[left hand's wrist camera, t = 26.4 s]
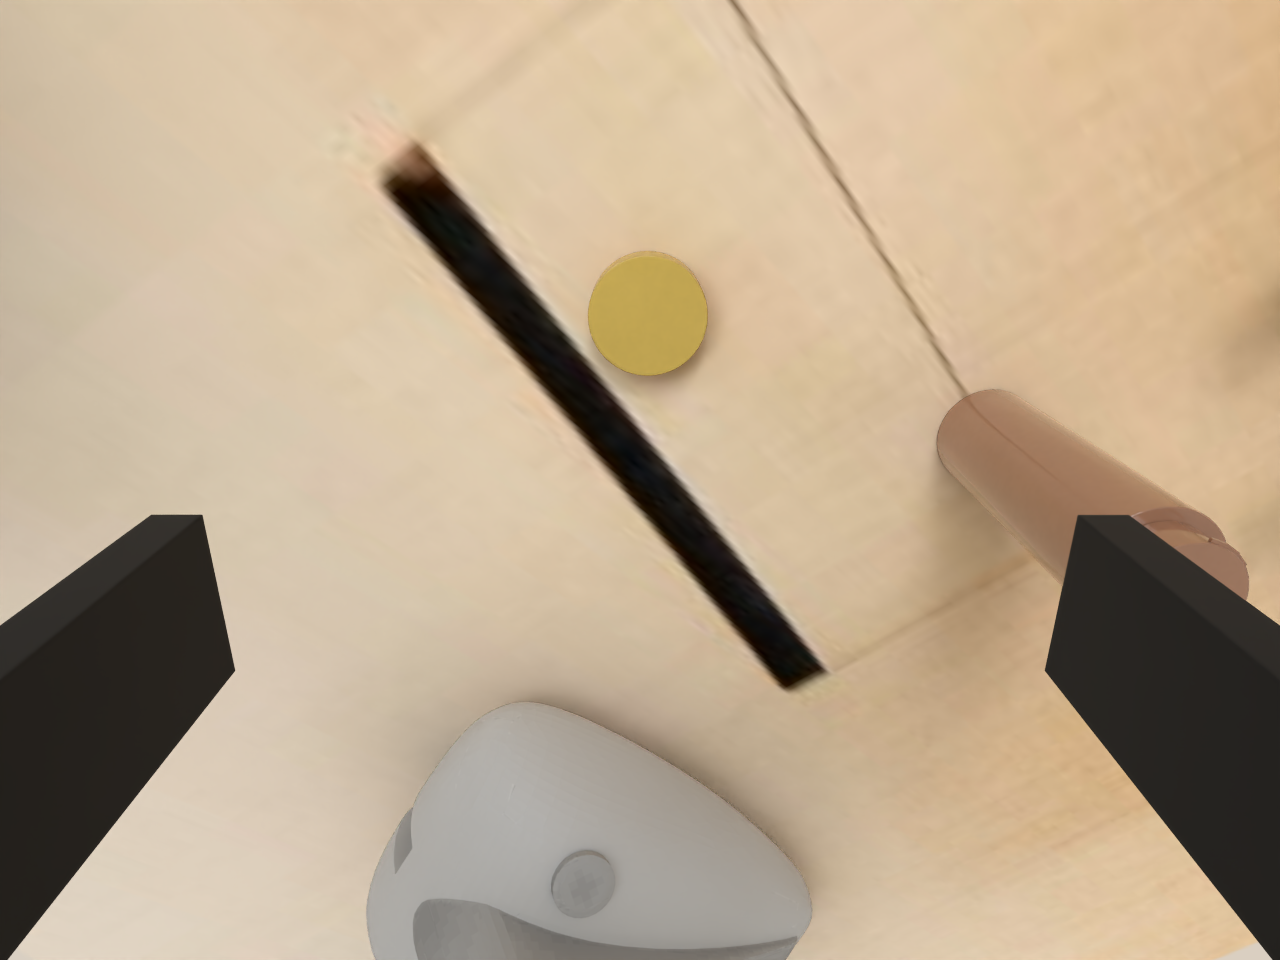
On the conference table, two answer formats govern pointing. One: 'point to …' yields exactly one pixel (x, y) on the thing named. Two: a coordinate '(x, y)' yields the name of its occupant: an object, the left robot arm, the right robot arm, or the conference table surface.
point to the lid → (647, 313)
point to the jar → (1066, 486)
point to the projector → (576, 856)
